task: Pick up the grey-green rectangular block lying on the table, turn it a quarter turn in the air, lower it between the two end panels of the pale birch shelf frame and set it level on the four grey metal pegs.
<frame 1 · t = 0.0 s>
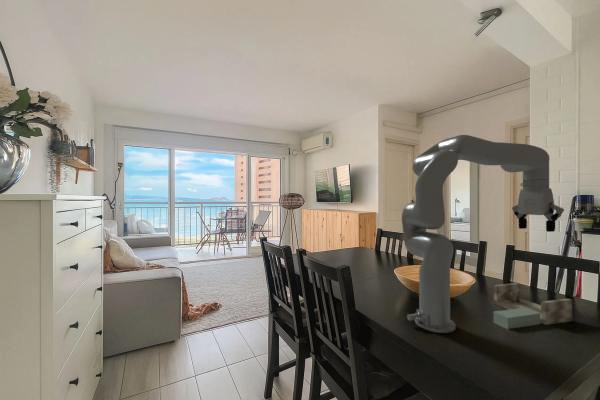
hand: (535, 229, 101), 31 cm above the table, tool pointing down, fingers open, 9 cm apart
shelf frame: (530, 311, 100), on the table
grey-green rectangular block: (516, 323, 91), on the table
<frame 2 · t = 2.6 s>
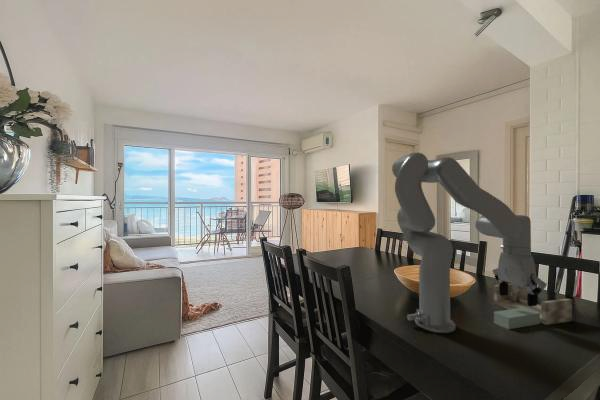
hand: (517, 300, 91), 8 cm above the table, tool pointing down, fingers open, 9 cm apart
nothing on the table moved.
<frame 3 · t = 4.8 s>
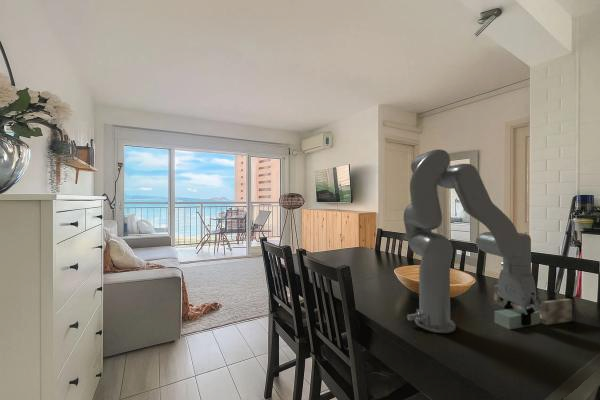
hand: (517, 320, 91), 1 cm above the table, tool pointing down, fingers closed on grey-green rectangular block, 5 cm apart
grey-green rectangular block: (517, 323, 91), on the table, touching gripper
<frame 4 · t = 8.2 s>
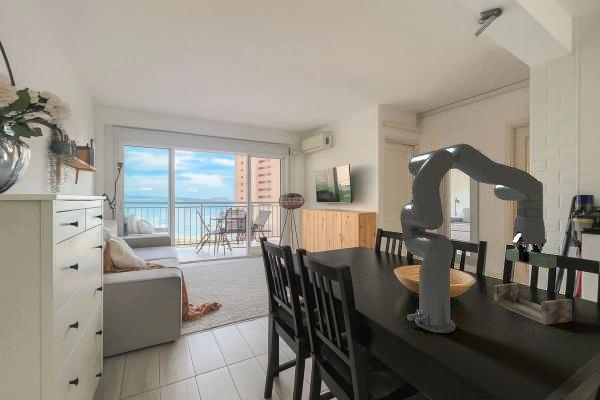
hand: (529, 260, 100), 19 cm above the table, tool pointing down, fingers closed on grey-green rectangular block, 5 cm apart
grey-green rectangular block: (529, 263, 100), point 18 cm above the table, touching gripper
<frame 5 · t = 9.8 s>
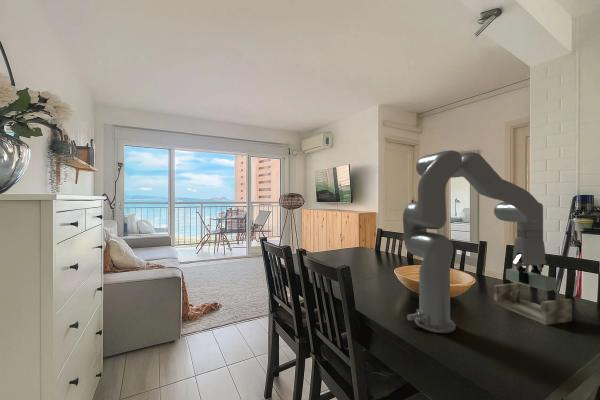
hand: (529, 281, 100), 11 cm above the table, tool pointing down, fingers closed on grey-green rectangular block, 5 cm apart
grey-green rectangular block: (529, 284, 100), point 10 cm above the table, touching gripper
when the fingers open (8 cm above the table, at t = 11.5 s): grey-green rectangular block drops 1 cm, resting on shelf frame.
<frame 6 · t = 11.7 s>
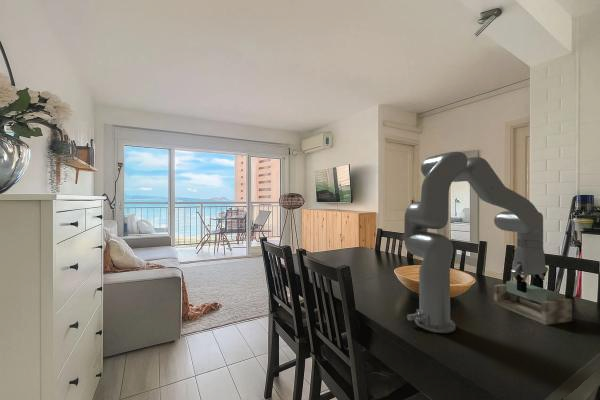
hand: (530, 290, 100), 8 cm above the table, tool pointing down, fingers open, 7 cm apart
grey-green rectangular block: (529, 297, 100), point 5 cm above the table, touching shelf frame
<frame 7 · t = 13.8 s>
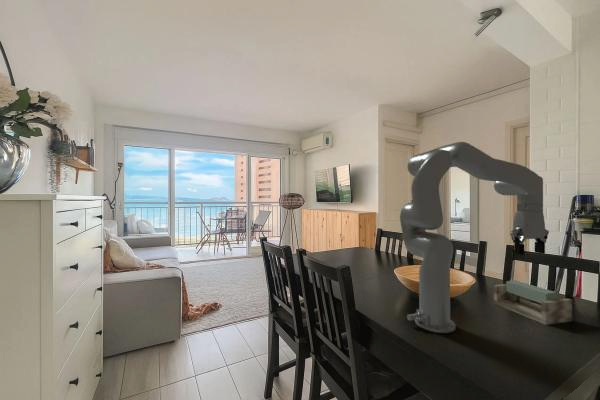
hand: (529, 253, 100), 22 cm above the table, tool pointing down, fingers open, 9 cm apart
nothing on the table moved.
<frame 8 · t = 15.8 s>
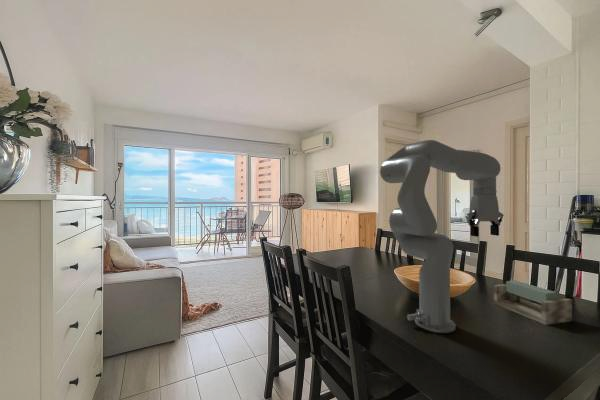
hand: (484, 235, 105), 28 cm above the table, tool pointing down, fingers open, 9 cm apart
nothing on the table moved.
at the end: grey-green rectangular block 0.1 cm off-centre on the shelf frame, point 5.5 cm above the shelf frame's base; grey-green rectangular block tilted 0°; the gripper is holding nothing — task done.
